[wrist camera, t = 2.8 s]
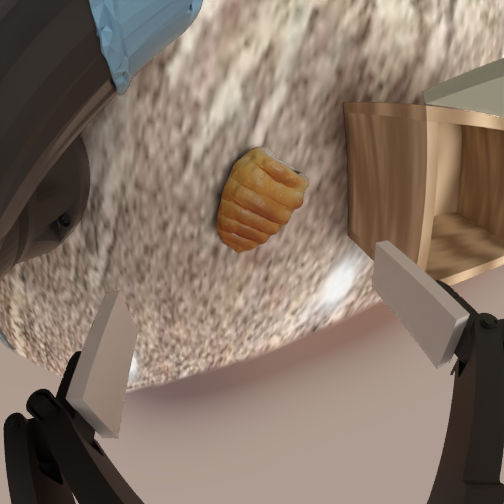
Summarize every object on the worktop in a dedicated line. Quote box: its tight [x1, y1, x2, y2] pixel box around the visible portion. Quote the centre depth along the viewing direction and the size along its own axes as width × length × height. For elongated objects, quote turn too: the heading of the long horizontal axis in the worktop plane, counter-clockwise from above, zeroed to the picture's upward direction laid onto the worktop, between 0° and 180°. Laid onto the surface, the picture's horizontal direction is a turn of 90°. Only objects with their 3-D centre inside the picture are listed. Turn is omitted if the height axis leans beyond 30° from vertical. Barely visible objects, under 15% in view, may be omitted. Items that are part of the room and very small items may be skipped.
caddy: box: [343, 102, 504, 286], centre depth 23 cm, size 17×14×12 cm
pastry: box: [216, 147, 309, 253], centre depth 25 cm, size 9×7×4 cm
